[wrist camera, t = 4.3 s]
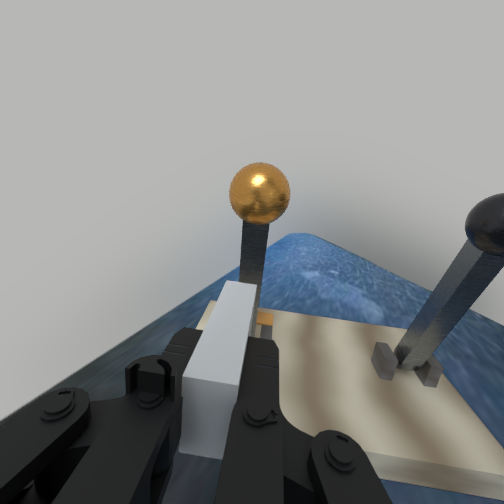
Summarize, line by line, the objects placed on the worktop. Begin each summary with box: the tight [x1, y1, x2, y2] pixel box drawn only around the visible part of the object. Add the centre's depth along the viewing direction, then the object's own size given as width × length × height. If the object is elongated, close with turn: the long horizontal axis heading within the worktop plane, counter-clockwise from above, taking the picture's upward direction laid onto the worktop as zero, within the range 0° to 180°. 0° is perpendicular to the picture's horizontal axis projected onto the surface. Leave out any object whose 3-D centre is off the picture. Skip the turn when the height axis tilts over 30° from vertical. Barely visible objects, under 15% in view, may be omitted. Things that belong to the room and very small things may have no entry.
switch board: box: [196, 301, 504, 501], centre depth 25 cm, size 23×16×4 cm
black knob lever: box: [394, 193, 504, 372], centre depth 19 cm, size 4×4×16 cm
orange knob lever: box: [229, 163, 290, 337], centre depth 20 cm, size 4×4×16 cm
